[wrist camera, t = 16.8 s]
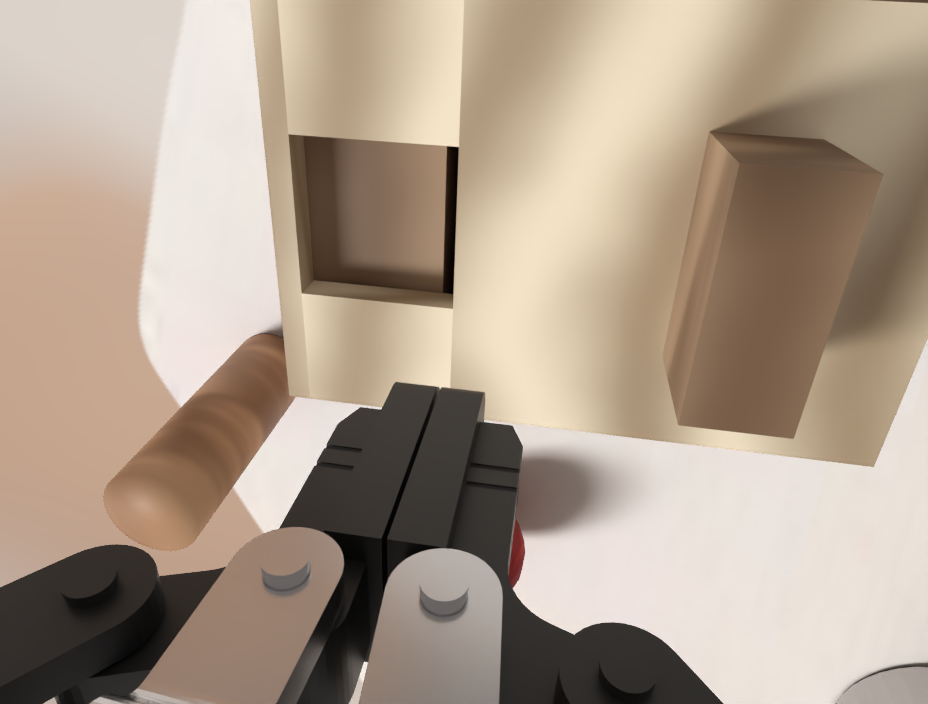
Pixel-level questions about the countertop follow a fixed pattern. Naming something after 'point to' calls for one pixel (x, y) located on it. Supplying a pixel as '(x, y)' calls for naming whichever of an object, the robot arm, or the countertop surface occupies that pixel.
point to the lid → (624, 210)
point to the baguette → (202, 449)
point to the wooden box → (385, 211)
